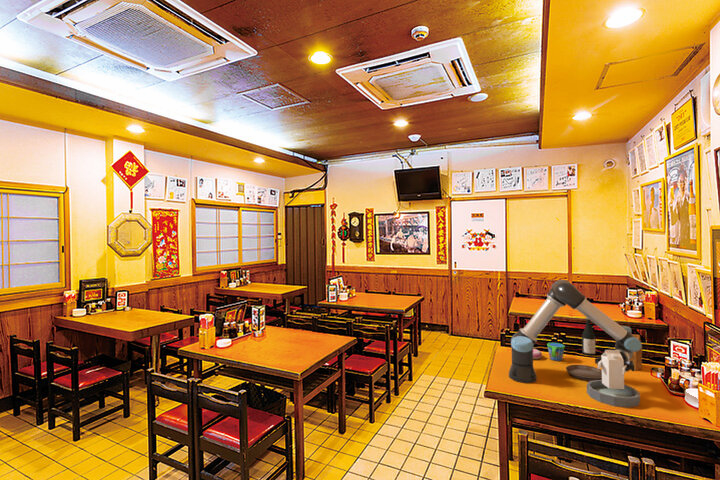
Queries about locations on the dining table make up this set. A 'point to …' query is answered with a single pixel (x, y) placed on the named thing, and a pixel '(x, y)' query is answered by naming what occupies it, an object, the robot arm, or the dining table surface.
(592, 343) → the wine bottle
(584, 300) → the robot arm
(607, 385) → the milk carton
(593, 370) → the plant saucer
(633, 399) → the bowl
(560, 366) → the dining table surface
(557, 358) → the snack cup
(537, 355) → the donut
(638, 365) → the coffee package
